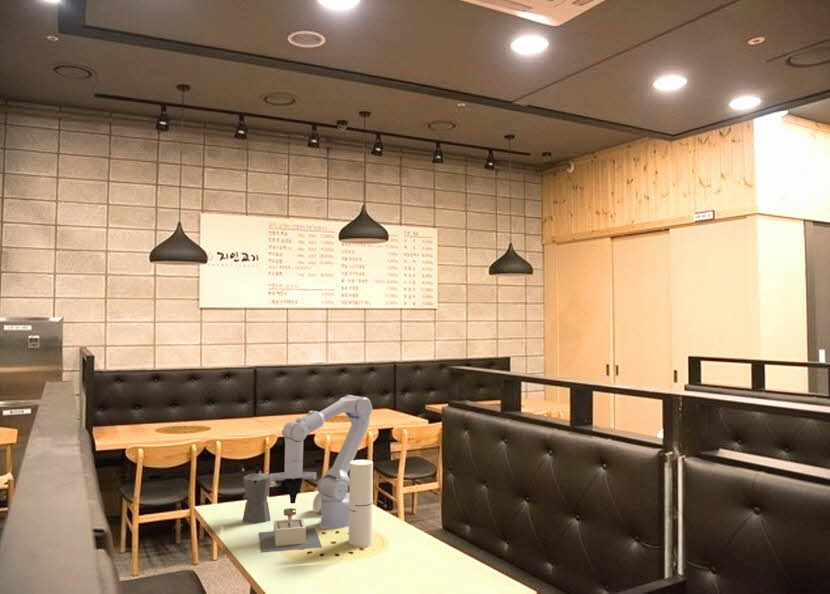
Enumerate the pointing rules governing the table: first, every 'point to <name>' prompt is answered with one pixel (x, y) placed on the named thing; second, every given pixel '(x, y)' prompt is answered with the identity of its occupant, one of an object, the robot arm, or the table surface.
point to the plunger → (289, 519)
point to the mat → (269, 545)
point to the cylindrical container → (360, 503)
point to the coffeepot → (256, 497)
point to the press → (289, 533)
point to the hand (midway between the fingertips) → (292, 502)
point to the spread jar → (318, 501)
